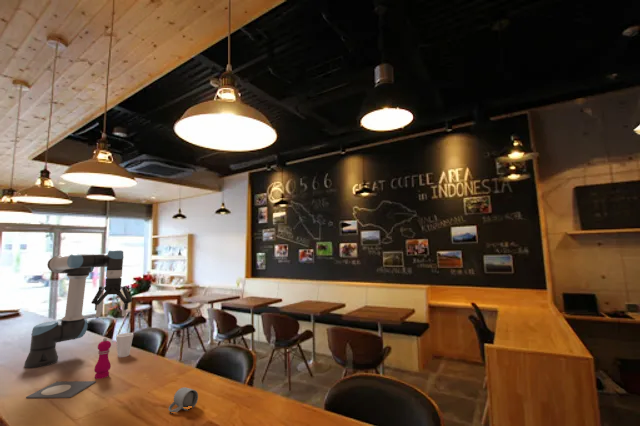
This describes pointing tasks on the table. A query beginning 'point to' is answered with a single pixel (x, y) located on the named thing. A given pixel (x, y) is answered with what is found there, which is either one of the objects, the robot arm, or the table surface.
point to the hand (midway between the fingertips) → (110, 316)
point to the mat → (62, 389)
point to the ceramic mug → (184, 399)
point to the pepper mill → (103, 360)
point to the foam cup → (124, 344)
